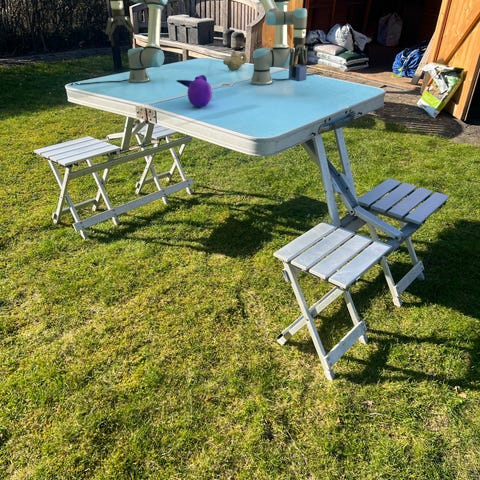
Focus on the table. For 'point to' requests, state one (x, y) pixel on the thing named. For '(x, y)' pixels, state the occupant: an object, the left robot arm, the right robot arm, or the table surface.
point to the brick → (298, 73)
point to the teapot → (235, 61)
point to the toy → (198, 91)
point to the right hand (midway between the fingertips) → (297, 76)
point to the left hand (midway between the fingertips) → (122, 45)
